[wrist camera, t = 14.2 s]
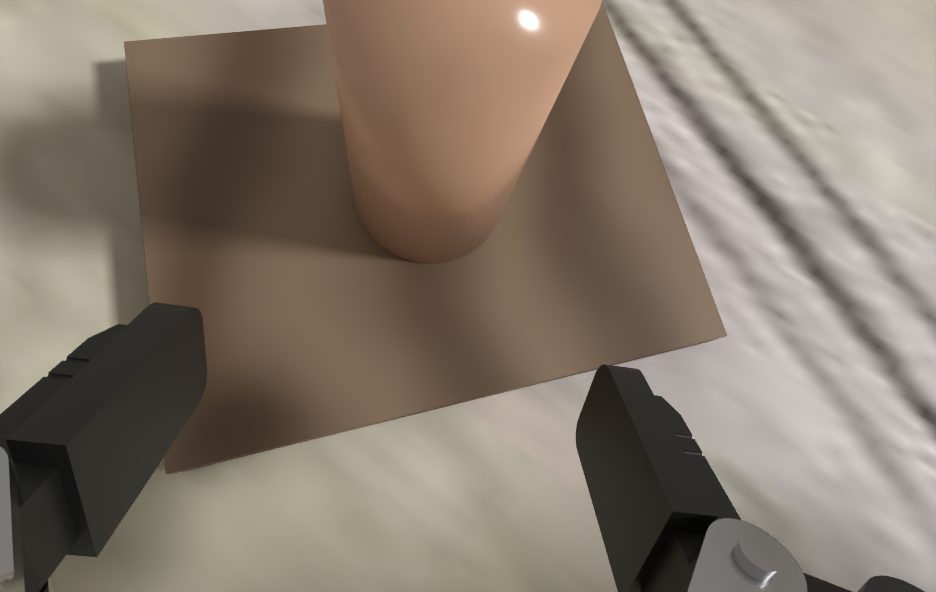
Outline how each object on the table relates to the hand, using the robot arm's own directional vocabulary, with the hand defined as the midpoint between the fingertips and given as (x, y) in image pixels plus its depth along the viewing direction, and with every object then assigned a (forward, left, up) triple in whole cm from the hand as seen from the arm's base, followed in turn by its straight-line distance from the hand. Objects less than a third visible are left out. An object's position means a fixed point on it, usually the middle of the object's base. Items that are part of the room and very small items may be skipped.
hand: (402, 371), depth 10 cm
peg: (-3, -7, -7) cm, 10 cm away
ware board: (-3, -7, -8) cm, 12 cm away
